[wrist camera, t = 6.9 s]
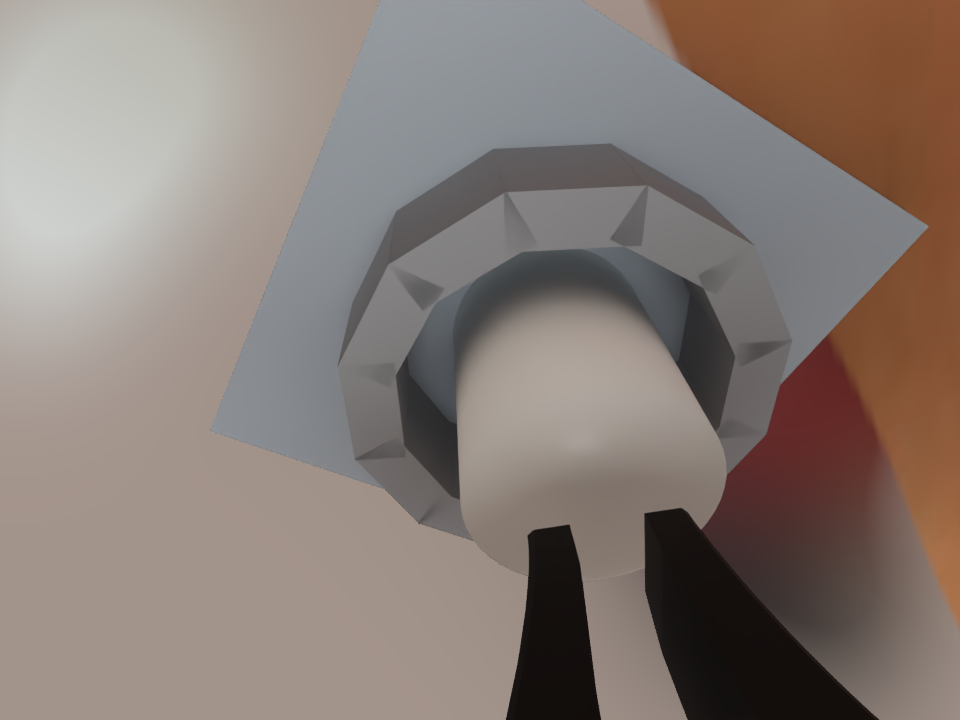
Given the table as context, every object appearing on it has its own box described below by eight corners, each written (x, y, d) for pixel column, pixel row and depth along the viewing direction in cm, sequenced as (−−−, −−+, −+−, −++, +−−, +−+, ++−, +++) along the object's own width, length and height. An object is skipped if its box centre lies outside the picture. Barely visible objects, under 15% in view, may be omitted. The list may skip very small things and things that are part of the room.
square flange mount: (904, 212, 17) (1021, 278, 13) (604, 542, 23) (633, 643, 20) (422, -101, 12) (417, -119, 9) (219, 409, 19) (172, 508, 16)
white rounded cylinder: (677, 295, 17) (783, 447, 11) (574, 430, 19) (625, 606, 14) (511, 212, 15) (549, 344, 10) (422, 369, 17) (415, 541, 12)
